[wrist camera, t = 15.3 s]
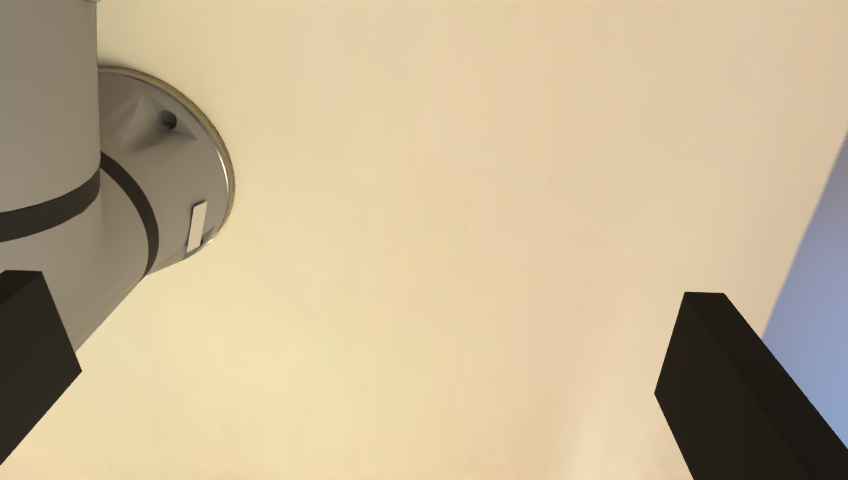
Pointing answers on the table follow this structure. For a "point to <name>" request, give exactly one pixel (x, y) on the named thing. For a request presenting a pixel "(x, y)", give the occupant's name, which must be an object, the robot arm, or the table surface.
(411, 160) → the table surface
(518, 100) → the table surface
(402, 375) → the table surface
